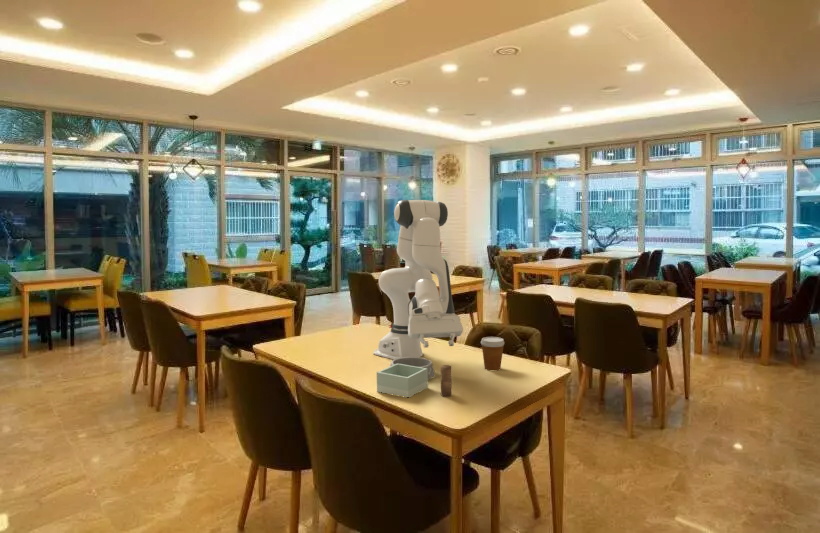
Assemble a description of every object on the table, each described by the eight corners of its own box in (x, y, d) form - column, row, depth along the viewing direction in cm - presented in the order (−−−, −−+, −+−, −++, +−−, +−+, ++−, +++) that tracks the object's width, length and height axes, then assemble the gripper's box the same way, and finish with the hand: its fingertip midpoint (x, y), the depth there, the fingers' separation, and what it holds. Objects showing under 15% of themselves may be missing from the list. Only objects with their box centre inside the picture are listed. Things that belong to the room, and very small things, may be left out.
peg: (439, 395, 180) (438, 367, 179) (444, 392, 183) (444, 364, 182) (448, 397, 178) (448, 368, 177) (453, 394, 181) (453, 366, 180)
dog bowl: (407, 366, 217) (407, 353, 216) (443, 374, 205) (443, 360, 205) (379, 376, 204) (379, 362, 203) (416, 385, 192) (416, 371, 192)
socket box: (376, 391, 184) (376, 372, 184) (397, 381, 195) (397, 363, 195) (408, 398, 177) (407, 378, 177) (427, 387, 188) (427, 368, 188)
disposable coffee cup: (486, 373, 205) (486, 342, 204) (476, 366, 214) (476, 337, 213) (508, 370, 208) (508, 341, 206) (498, 364, 217) (498, 335, 216)
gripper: (456, 318, 201) (464, 349, 192) (404, 320, 197) (410, 352, 188) (460, 308, 196) (468, 339, 188) (407, 310, 192) (413, 342, 183)
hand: (439, 346), depth 188 cm, fingers open, 8 cm apart
